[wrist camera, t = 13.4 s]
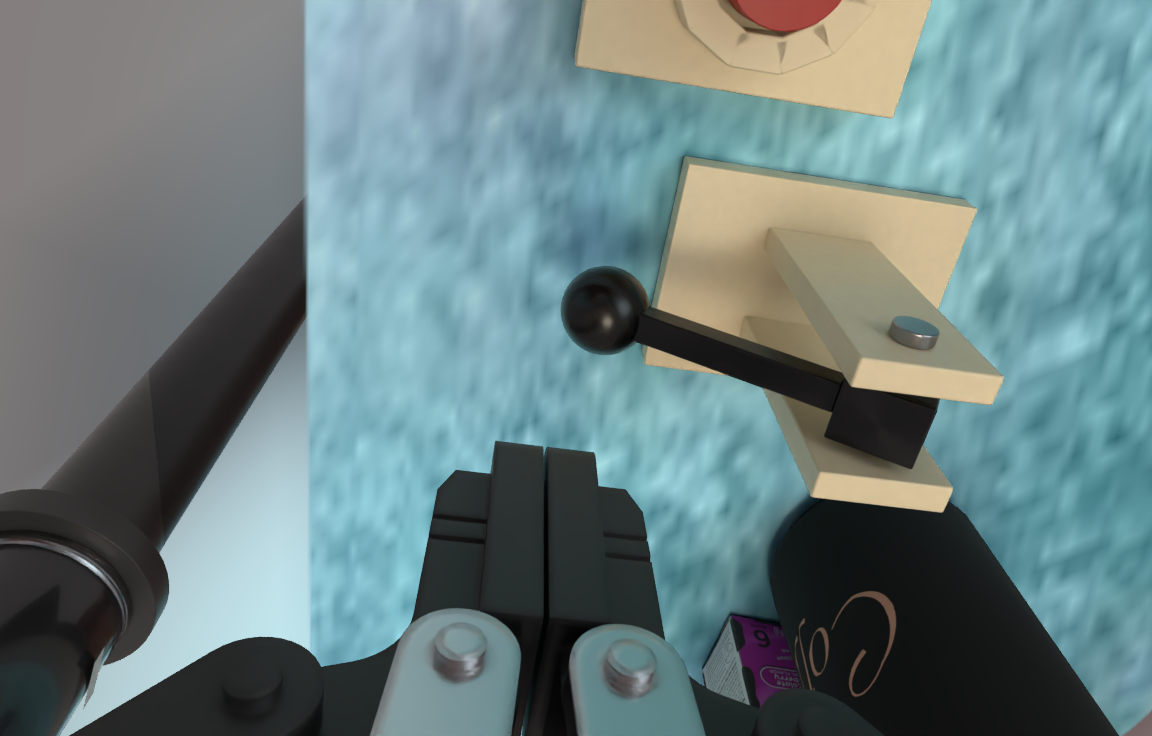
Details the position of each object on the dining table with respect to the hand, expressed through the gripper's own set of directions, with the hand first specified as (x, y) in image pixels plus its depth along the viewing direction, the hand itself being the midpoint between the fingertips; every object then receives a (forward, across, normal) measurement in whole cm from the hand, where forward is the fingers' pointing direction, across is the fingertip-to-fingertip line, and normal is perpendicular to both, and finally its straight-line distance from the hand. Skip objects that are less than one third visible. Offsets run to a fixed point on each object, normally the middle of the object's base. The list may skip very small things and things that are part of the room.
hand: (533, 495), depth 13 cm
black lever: (+16, -8, +4) cm, 19 cm away
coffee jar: (+24, -20, +18) cm, 36 cm away
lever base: (+23, -12, +4) cm, 26 cm away
